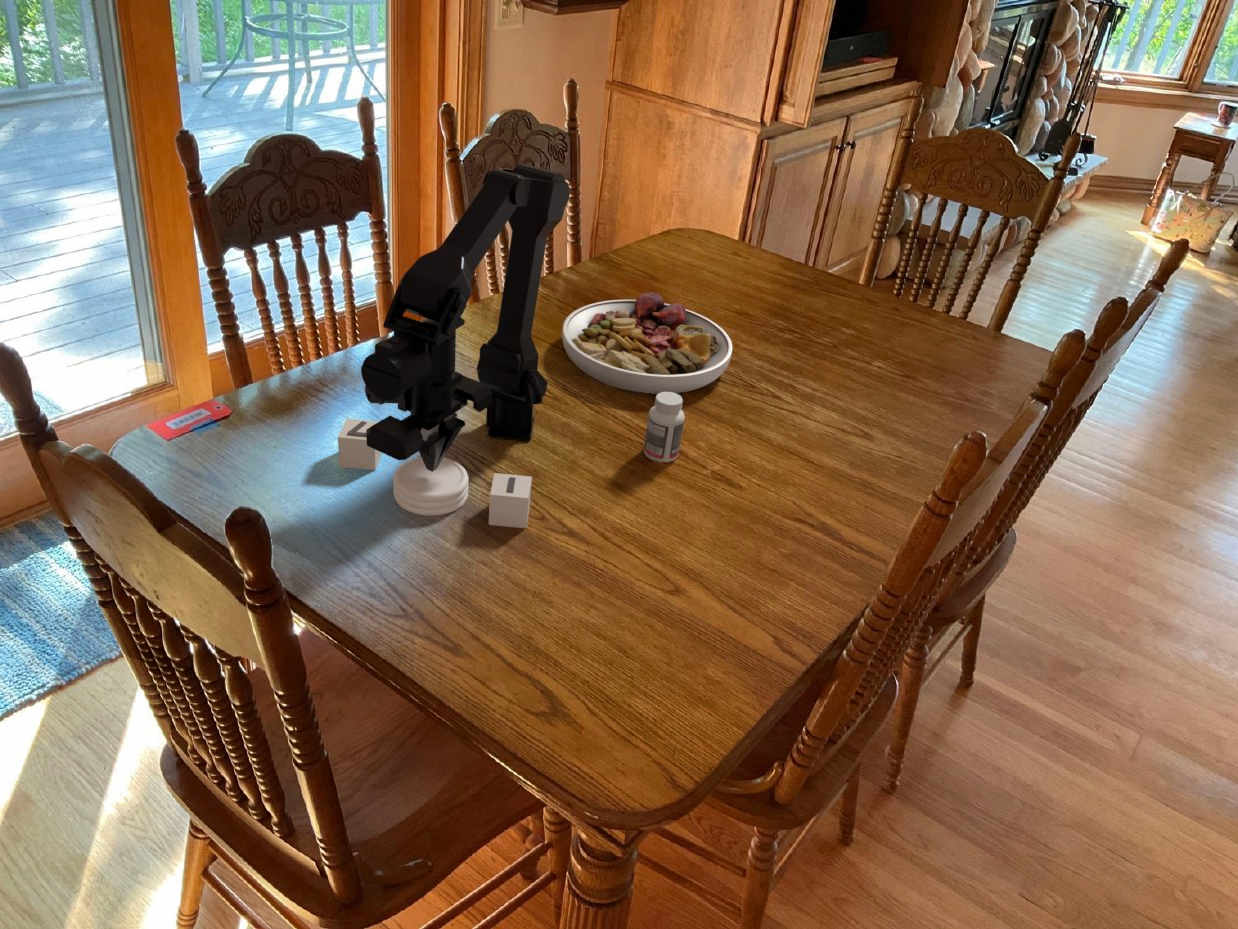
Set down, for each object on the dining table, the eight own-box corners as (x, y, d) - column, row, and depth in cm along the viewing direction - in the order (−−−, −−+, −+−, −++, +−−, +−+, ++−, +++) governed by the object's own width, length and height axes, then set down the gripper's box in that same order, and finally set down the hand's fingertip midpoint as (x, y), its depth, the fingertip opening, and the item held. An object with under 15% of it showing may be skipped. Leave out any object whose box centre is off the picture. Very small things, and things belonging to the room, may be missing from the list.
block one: (529, 506, 133) (532, 475, 130) (526, 528, 129) (528, 496, 126) (493, 503, 133) (494, 471, 130) (488, 525, 129) (490, 493, 126)
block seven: (382, 451, 140) (382, 420, 138) (375, 470, 136) (374, 439, 133) (347, 448, 140) (346, 417, 137) (339, 467, 136) (337, 435, 133)
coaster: (386, 480, 135) (386, 459, 133) (457, 471, 139) (457, 450, 137) (402, 523, 127) (402, 501, 126) (476, 511, 131) (477, 490, 129)
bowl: (734, 411, 162) (742, 369, 158) (554, 392, 161) (558, 349, 156) (721, 332, 187) (728, 294, 183) (566, 315, 186) (569, 277, 182)
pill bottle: (670, 442, 151) (679, 387, 146) (683, 461, 147) (693, 405, 142) (637, 446, 149) (645, 390, 144) (650, 465, 145) (659, 408, 140)
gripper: (429, 323, 132) (429, 421, 141) (329, 372, 118) (336, 478, 127) (496, 349, 128) (491, 448, 137) (401, 403, 114) (402, 510, 123)
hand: (431, 469), depth 131 cm, fingers closed
